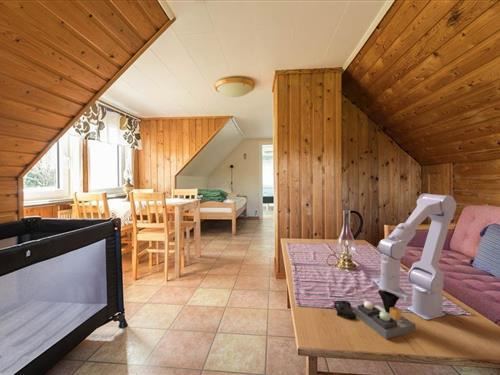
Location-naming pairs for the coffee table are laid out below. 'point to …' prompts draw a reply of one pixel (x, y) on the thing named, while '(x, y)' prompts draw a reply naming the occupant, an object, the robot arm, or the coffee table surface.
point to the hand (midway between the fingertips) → (388, 311)
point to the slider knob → (395, 313)
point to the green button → (385, 316)
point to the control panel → (382, 327)
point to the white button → (368, 305)
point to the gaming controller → (344, 309)
